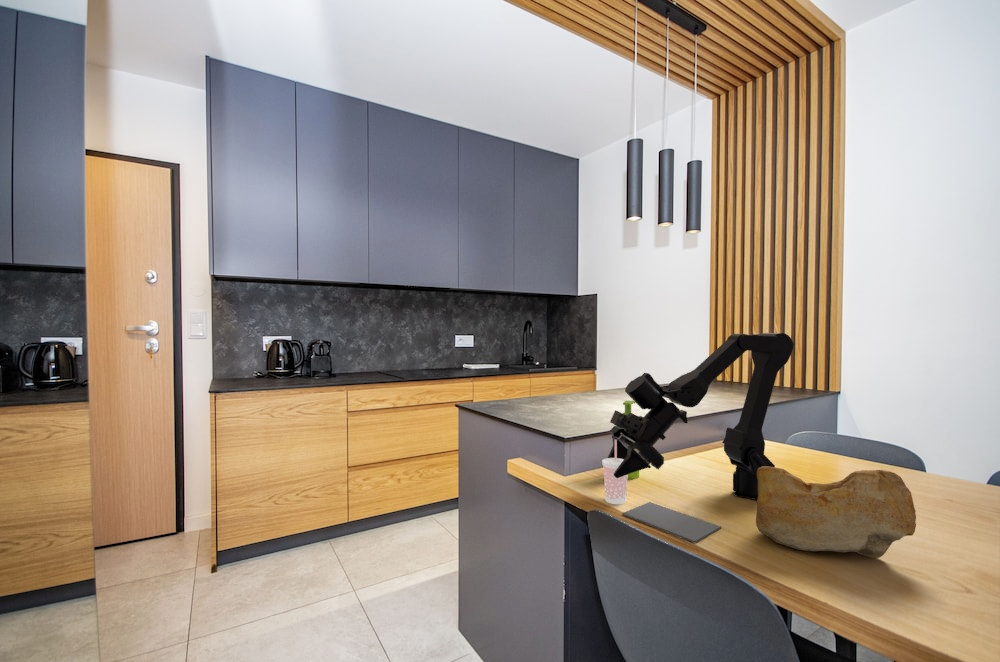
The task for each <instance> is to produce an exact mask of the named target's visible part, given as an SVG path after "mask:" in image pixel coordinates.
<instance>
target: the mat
mask: <svg viewBox="0 0 1000 662" xmlns="http://www.w3.org/2000/svg"><path fill="white" fill-rule="evenodd" d="M622 516H624V517H626V518H629V519H633V520H635V521H636V522H639V523H642V524H645V525H647V526H650V527H652V528H655V529H657V530H660V531H663V532H666V533H668V534H670V535H672V536H676V537H678V538H681V539H682V540H683V539H684V540H686V541H689V542H691V543H694V544H697V543H698V542H700V541H701V540H704V539H705V538H707V537H710V536H711V535H712V534H714V533H716V532H717V531H720V530H721V529H722V526H721V525H719V524H716V523H713V522H709V521H706V520H703V519H700V518H699V517H698V518H697V517H695V516H692V515H689V514H685V513H683V512H680V511H677V510H675V509H672V508H668V507H666V506H662V505H659V504H658V503H654V502H652V501H649V502H646V503H643V504H642V505H639V506H636V507H634V508H631V509H630V510H627V511H624V512H622Z"/></svg>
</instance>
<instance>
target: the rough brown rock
mask: <svg viewBox="0 0 1000 662" xmlns="http://www.w3.org/2000/svg"><path fill="white" fill-rule="evenodd" d="M757 479H758V500H756V514H755V524H756V525H755V526H756V528H757V529H758V531H759V533H761V534H763V535H765V536H767V537H768V538H770V539H771V540H772V541H773V542H775V543H777V544H780V545H784V546H786V547H790V548H793V549H795V550H799V551H806V552H819V551H820V552H821V551H822V552H836V553H837V552H838V553H848V552H849V553H850V552H855V553H857V554H859V555H861V556H863V557H868V558H873V559H880V558H881V557H883V556H884V555H885V554H886V553H887V552H888V550H889V548H890V547H891V545H892V544H893V543H894V542H897V541H900V540H901V539H902V538H904V537H907V536H910V537H911V536H913V535H914V533H915V531H916V527H917V523H916V521H917V517H916V516H917V515H916V509H915V505H914V499H913V496H912V492H911V491H910V489H909V488H908V487H907V485H906V483H905V482H904V480H903V478H902V477H901V476H900V475H899V474H897V473H895V472H894V471H890V470H886V469H876V470H874V469H873V470H871V469H870V470H866V469H865V470H855V471H853V472H850V473H849V474H848V475H847V476H846V477H845V478H843V479H841V480H839V481H835V482H834V481H833V482H830V483H829V482H828V483H820V482H819V483H818V482H815V483H813V482H808V483H807V482H805V481H804V480H803V479H802V478H800V477H798V476H796V475H793V474H792V473H790V472H788V471H787V470H786V469H784V468H781V467H769V466H762V467H760V468H758V470H757Z"/></svg>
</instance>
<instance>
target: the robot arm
mask: <svg viewBox="0 0 1000 662" xmlns="http://www.w3.org/2000/svg"><path fill="white" fill-rule="evenodd" d="M792 339H793V338H792V337H790V335H788V334H787V333H783V332H762V333H761V332H760V333H759V334H757V335H752V334H747V333H732V334H730V335H729V336H728V337H727V338H726V340H725V341H724V342H723V343H722V344H720V346H719V347H717V349H715V350H714V351H713V352H712V353H711V354H710V355H709V356H707V357H706V358H705V359H704V360H703V361H702V362H701V363H700V364H699V365H698V366H697V367H695V368H694V369H693V370H691V371H689V372H687V373H684V374H681V375H680V376H678V377H677V378H675V379H673V380H672V381H670V383H669V384H668V385H660V384H659V383H658V382H657V381H655V379H654V378H653V376H652V375H651V374H650V373H647V372H643V373H642V374H641V375H639V376H637V377H635V379H633V380H630V382H628V384H627V385H626V387H625V389H624V392H625V393H626V394H627V396H628V397H630V399H632V401H635V404H637V406H638V407H639V408H641V410H649V411H648V412H647V413H646V414H645V415H644V416H641V415H639V416H638V415H636V414H635V413H633V412H631V413H629V414H628V415H625V414H622V412H620V411H618V410H614V411H613V412H614V413H613V414H612V417H611V419H610V422H609V423H611V424H613V426H612V428H611V429H610V430H609V433H610V434H611V439H612V447H611V450H610V452H609V454H608V456H607V458H615V440H617V458H620V459H624V460H623V462H622V463H621V464H620V466H619V467H618V468H617V470H616V471H615V473H614V476H615V477H616V478H619V477H622V476H625V475H627V474H630V473H633V472H636V471H639V472H640V471H641V470H644V469H651V468H652V467H653V468H655V469H657V470H660V468H661V467H663V465H664V464H665V457H664V456H663V455H662V454H661V453H660V452H659V451H658V450H657V449H656V448H655V447H654V445H656V443H657V442H658V441H659V440H662V441H664V440H665V439H666V438H667V437H666V435H665V433H666V432H667V431H668V430H669V429H670V428H671V427H672V426H673V425H674V424H675V423H676V422H677V421H678V422H681V423H684V424H688V415H687V414H688V411H686V410H683V409H680V408H678V406H682V407H686V408H695V407H696V406H698V405H699V404H700V403H701V402H702V400H703V399H704V398H705V396H706V395H707V394H708V392H709V389H710V388H709V387H710V385H712V383H713V382H714V381H715V380H716V379H717V378H719V376H721V374H722V373H724V372H725V371H726V370H727V369H728V368H729V367H730V366H731V365H733V363H735V362H736V361H737V360H738V359H739V358H740V357H741V356H742V355H743V354H744V353H745V352H747V351H749V352H750V351H751V358H752V362H753V371H752V374H751V378H750V381H749V384H748V385H749V386H748V387H747V388H748V389H747V393H746V395H745V399H744V402H743V403H744V404H743V407H742V410H741V413H740V417H739V421H738V423H737V424H736V425H735V426H734V427H733V428H732V427H727V428H726V430H725V436H724V439H723V440H722V442H721V443H722V444H723V452H725V455H726V456H727V457H728V459H729V462H730V464H731V465H733V466H735V471H734V472H733V474H732V491H733V492H734V496H735V497H740V498H745V499H750V500H756V501H757V500H758V479H757V470H758V468H760V467H762V466H769V467H775V466H776V465H775V463H773V462H772V461H771V459H769V458H768V457H767V455H765V448H766V443H765V438H764V433H763V427H764V423H765V420H766V417H767V412H768V408H769V405H770V402H771V397H772V394H773V391H774V388H775V383H776V380H777V376H778V373H779V371H780V370H782V368H783V367H784V366H785V365H787V363H788V362H789V360H790V358H791V355H792V354H793V351H794V348H795V344H794V341H793V340H792ZM665 398H666V399H668V400H669V401H670V402H668V401H667V400H666V399H665ZM677 405H678V406H677ZM632 413H633V414H632ZM634 449H635V450H634ZM650 464H651V465H650Z"/></svg>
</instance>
